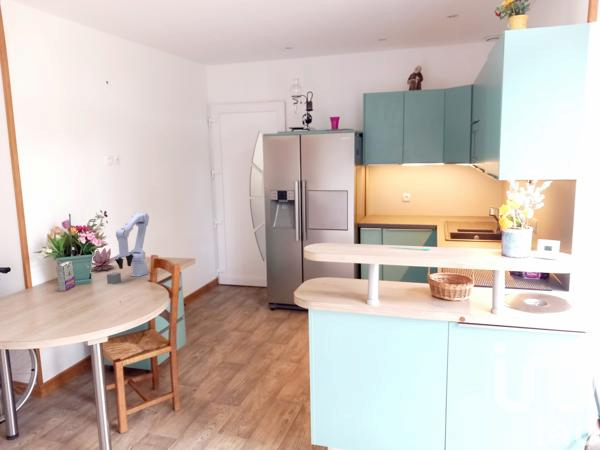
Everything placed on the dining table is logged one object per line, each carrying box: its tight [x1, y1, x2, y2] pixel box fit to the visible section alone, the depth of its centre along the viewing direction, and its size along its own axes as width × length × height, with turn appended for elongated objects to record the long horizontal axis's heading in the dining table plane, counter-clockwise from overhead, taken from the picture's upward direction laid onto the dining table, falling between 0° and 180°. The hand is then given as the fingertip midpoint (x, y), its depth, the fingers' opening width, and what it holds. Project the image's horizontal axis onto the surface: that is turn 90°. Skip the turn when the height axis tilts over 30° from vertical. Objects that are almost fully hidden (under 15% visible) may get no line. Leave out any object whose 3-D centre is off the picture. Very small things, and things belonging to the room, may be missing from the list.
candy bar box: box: [55, 261, 76, 292], centre depth 282 cm, size 11×5×16 cm, turn 179°
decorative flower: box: [91, 247, 116, 272], centre depth 329 cm, size 21×21×15 cm
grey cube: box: [106, 271, 122, 285], centre depth 294 cm, size 6×6×6 cm
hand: (125, 267), depth 296 cm, fingers open, 7 cm apart
